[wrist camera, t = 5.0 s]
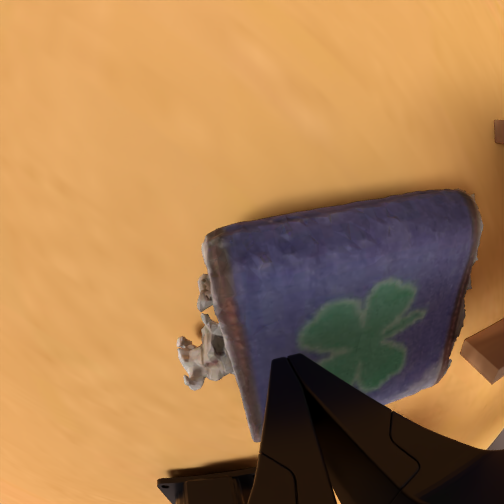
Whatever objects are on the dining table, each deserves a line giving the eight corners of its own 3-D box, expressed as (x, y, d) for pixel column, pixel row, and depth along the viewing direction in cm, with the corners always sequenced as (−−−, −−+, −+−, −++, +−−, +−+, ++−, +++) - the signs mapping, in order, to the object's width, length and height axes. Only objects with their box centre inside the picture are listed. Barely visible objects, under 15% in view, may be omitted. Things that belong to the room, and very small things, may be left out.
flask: (440, 392, 11) (211, 459, 10) (412, 355, 14) (208, 408, 13) (490, 197, 7) (126, 257, 7) (437, 177, 10) (147, 220, 9)
